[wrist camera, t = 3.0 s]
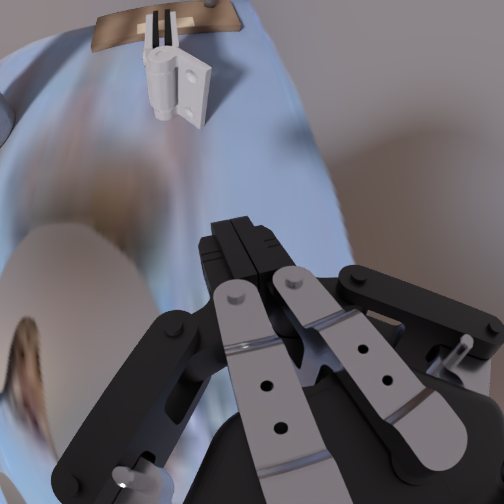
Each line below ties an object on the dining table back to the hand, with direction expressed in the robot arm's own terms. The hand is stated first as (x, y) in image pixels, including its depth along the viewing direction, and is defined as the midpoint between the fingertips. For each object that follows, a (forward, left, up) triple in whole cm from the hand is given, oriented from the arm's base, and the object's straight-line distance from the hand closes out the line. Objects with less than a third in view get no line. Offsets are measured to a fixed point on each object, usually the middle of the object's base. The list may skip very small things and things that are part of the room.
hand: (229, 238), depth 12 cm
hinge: (0, +23, -17) cm, 29 cm away
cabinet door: (0, +42, -17) cm, 45 cm away
